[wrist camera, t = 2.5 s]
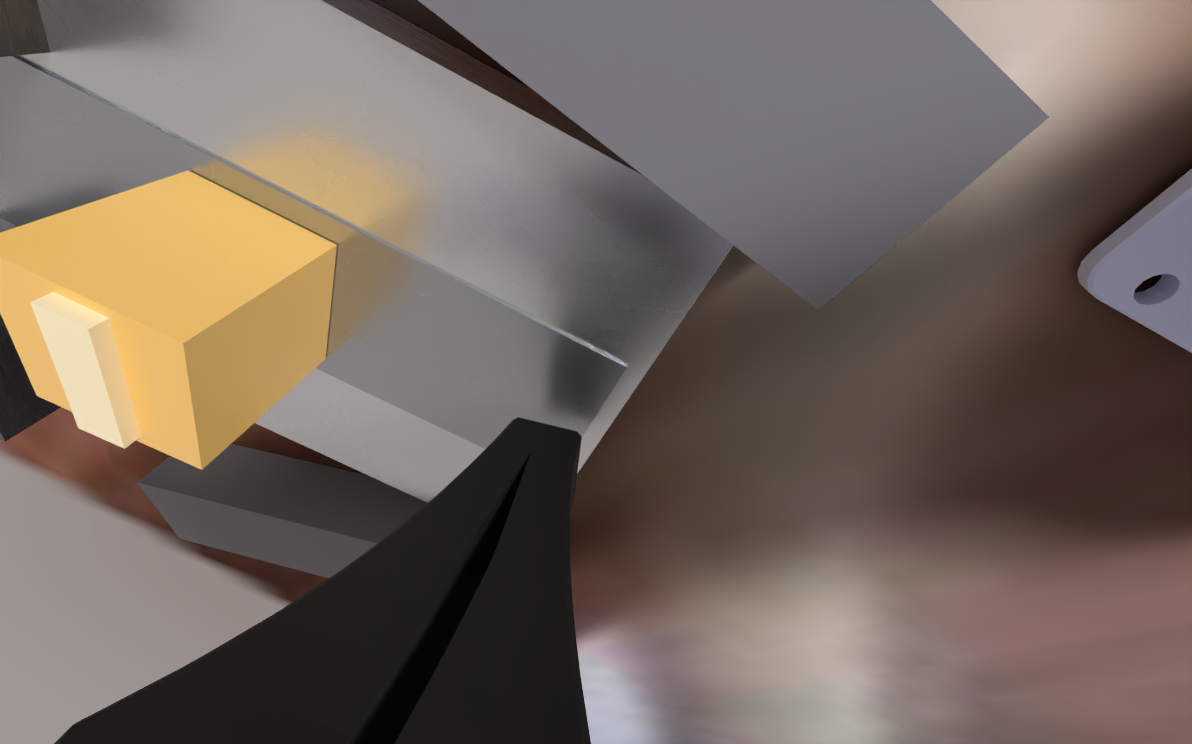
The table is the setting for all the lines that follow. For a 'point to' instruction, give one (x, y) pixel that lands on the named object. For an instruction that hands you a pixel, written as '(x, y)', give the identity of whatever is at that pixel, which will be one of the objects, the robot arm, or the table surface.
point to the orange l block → (167, 313)
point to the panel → (366, 212)
